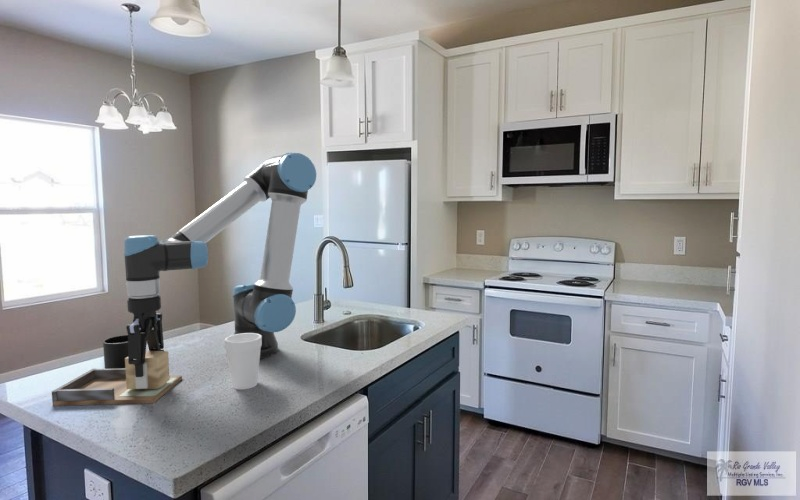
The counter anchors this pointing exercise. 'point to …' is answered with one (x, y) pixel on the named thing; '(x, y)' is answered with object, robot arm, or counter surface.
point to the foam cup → (243, 359)
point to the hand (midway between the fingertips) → (148, 382)
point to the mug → (115, 351)
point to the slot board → (106, 389)
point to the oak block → (150, 370)
